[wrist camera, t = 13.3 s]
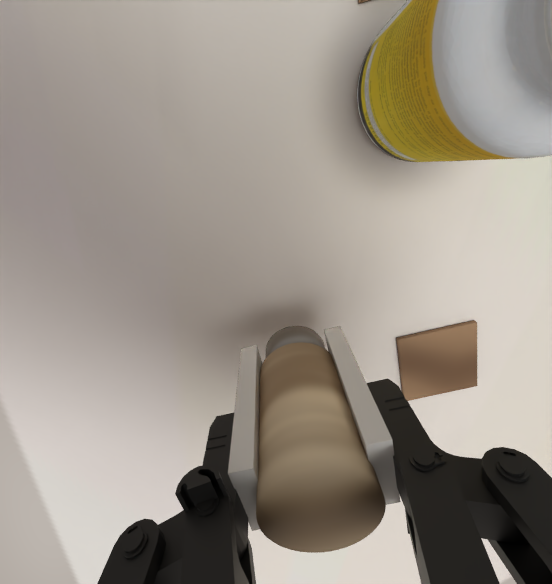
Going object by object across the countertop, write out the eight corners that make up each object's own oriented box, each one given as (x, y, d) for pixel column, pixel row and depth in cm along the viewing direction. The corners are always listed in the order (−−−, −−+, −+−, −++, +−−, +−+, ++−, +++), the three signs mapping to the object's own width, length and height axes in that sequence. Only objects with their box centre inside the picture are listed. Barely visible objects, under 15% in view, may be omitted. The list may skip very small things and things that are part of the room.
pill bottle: (385, 186, 17) (592, 222, 6) (329, 63, 15) (499, -197, 4) (502, 115, 16) (987, 15, 5) (460, -28, 14) (1125, -678, 3)
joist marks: (340, -155, 12) (342, -163, 12) (470, -195, 12) (474, -203, 12) (402, 398, 22) (404, 401, 22) (474, 383, 22) (477, 385, 22)
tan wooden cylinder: (251, 329, 16) (240, 481, 8) (323, 313, 15) (378, 454, 8) (269, 386, 17) (273, 561, 10) (335, 372, 17) (391, 540, 9)
